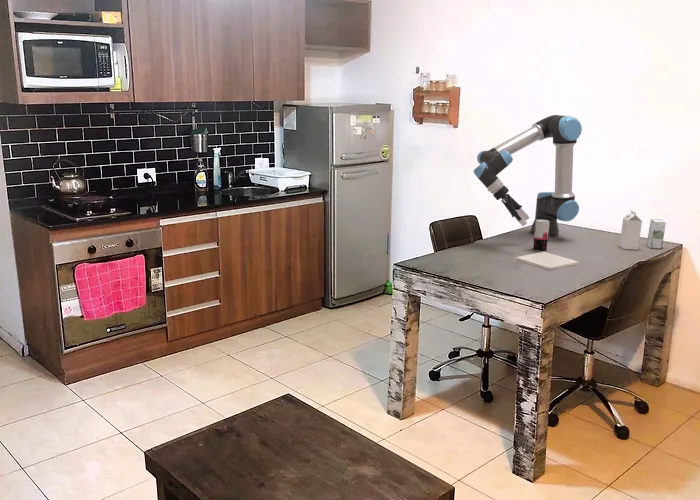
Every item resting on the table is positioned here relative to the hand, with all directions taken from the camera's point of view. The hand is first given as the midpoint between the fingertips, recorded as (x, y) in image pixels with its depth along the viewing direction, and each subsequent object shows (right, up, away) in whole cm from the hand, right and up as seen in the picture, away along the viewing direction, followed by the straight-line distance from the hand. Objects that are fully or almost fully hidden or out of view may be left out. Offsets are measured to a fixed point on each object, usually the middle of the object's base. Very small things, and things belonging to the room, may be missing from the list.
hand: (526, 222), depth 319 cm
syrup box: (+69, -13, +12) cm, 71 cm away
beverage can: (+7, -14, +2) cm, 16 cm away
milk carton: (+55, -13, +10) cm, 57 cm away
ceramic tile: (+4, -19, -19) cm, 27 cm away
